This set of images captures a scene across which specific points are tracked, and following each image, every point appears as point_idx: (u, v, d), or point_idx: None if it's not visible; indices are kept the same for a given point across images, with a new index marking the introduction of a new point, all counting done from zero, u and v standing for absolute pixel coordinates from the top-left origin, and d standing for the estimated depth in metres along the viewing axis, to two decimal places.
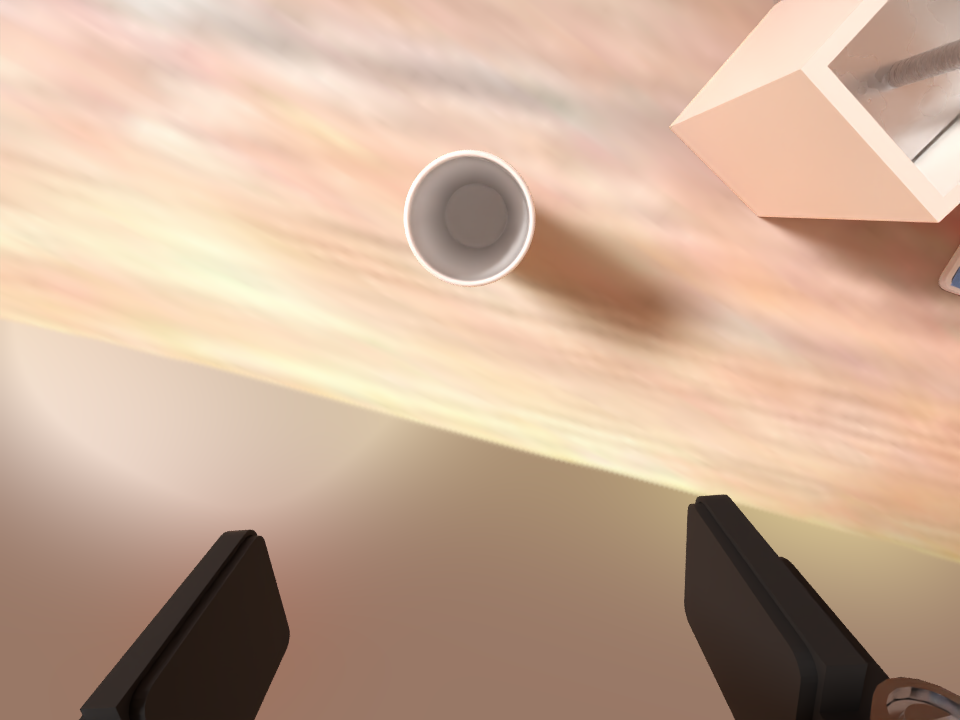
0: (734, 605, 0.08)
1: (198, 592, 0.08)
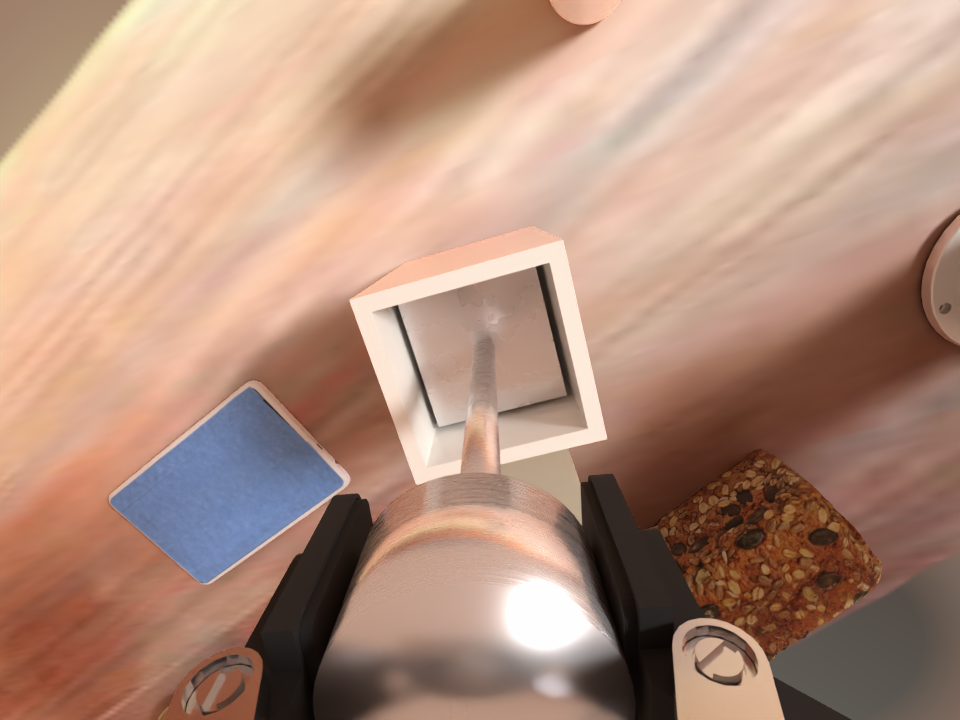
0: (600, 568, 0.09)
1: (329, 543, 0.09)
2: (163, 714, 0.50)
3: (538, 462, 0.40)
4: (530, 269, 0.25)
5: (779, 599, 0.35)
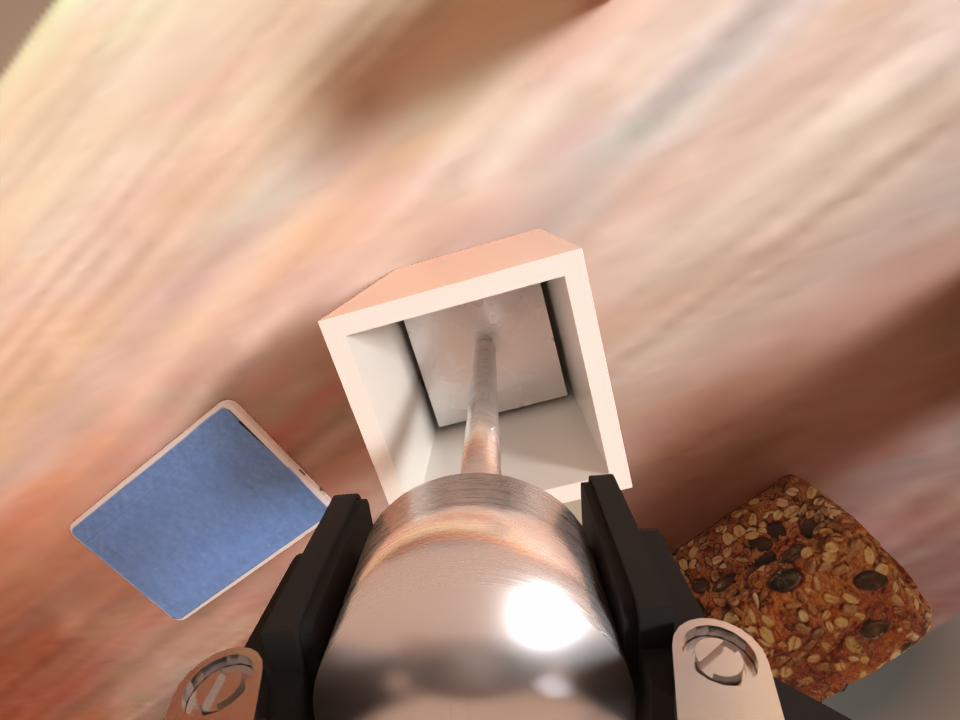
0: (600, 567, 0.09)
1: (329, 543, 0.09)
2: None
3: None
4: None
5: (818, 650, 0.31)
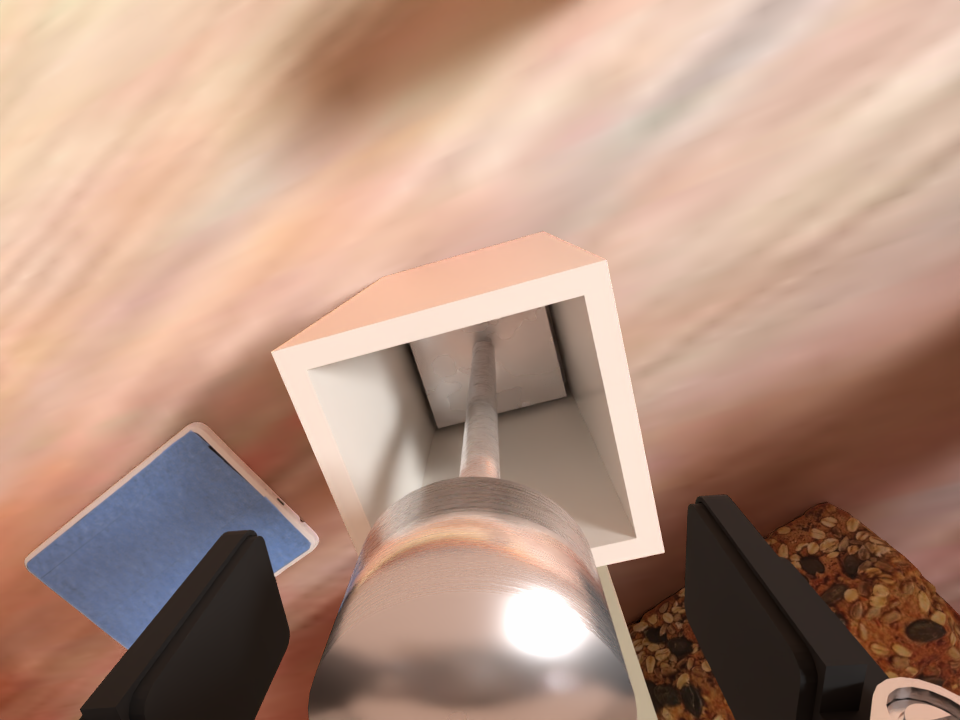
0: (734, 605, 0.08)
1: (198, 592, 0.08)
2: None
3: None
4: None
5: None
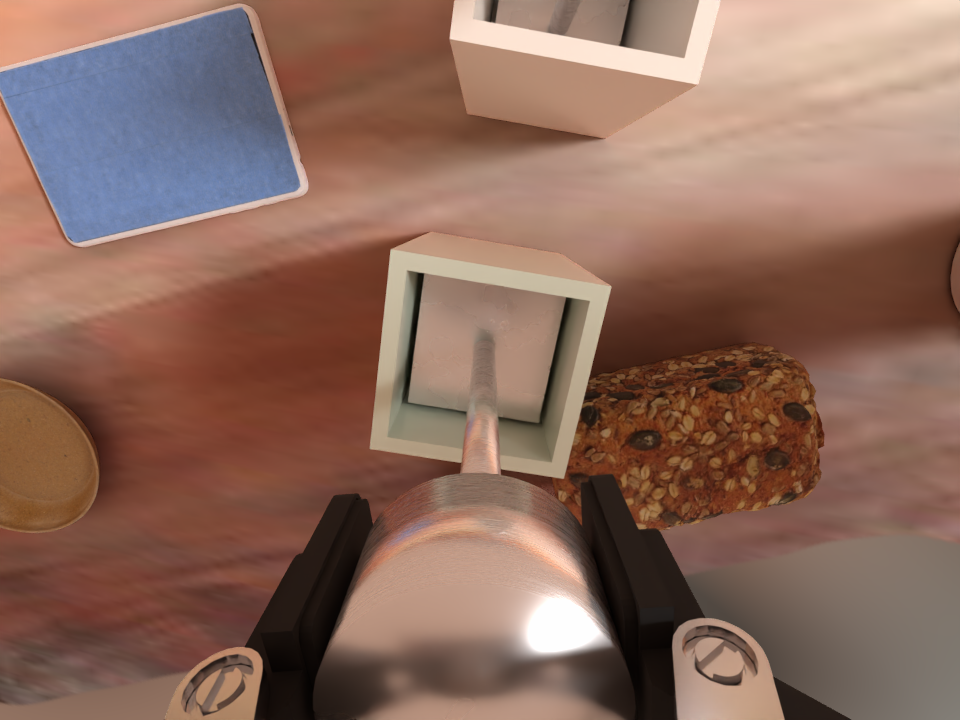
0: (600, 567, 0.09)
1: (329, 543, 0.09)
2: None
3: (528, 250, 0.35)
4: None
5: (723, 455, 0.31)
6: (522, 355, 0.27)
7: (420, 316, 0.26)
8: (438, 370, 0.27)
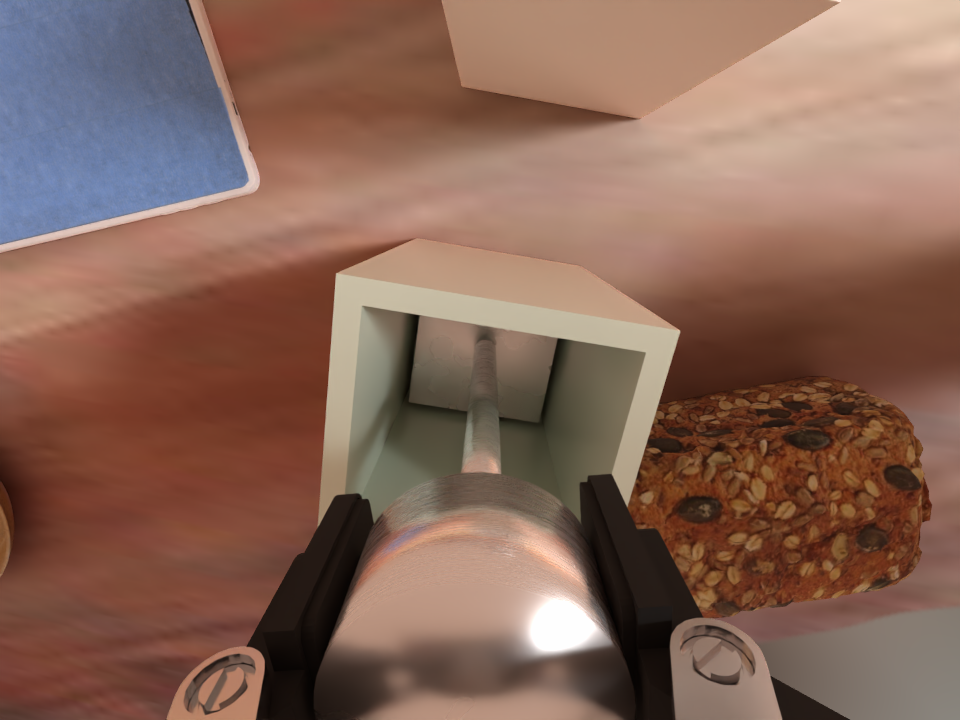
0: (599, 567, 0.09)
1: (331, 543, 0.09)
2: None
3: (540, 262, 0.27)
4: None
5: (803, 533, 0.24)
6: (523, 355, 0.27)
7: (421, 316, 0.26)
8: (439, 370, 0.27)
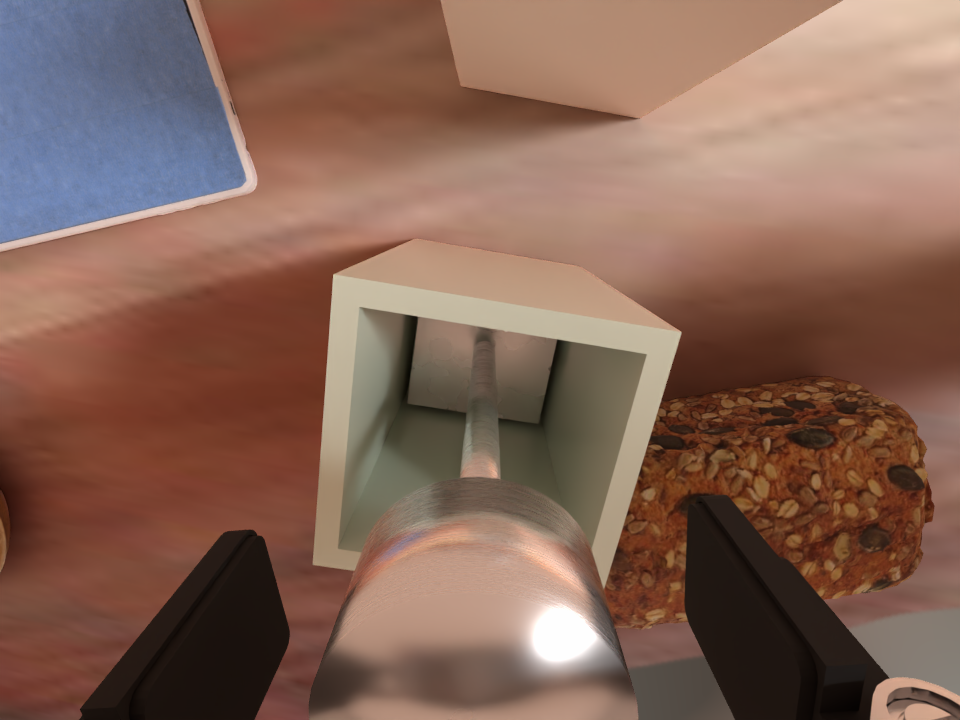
0: (734, 605, 0.08)
1: (198, 592, 0.08)
2: None
3: (539, 262, 0.27)
4: None
5: (805, 532, 0.23)
6: (522, 356, 0.26)
7: (419, 317, 0.26)
8: (438, 371, 0.27)
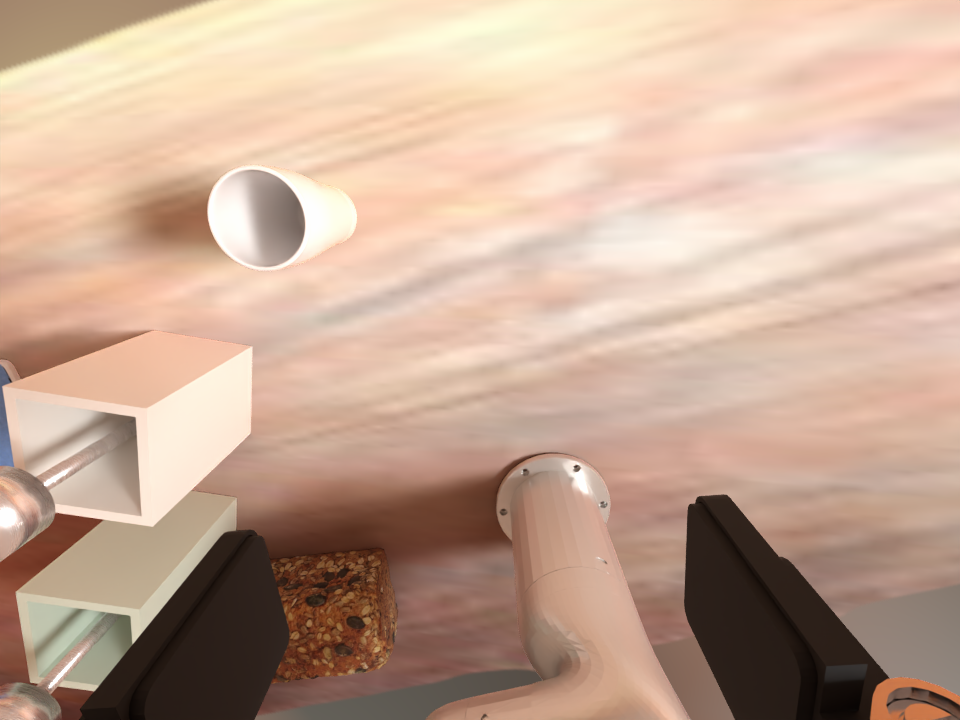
0: (734, 605, 0.08)
1: (198, 592, 0.08)
2: None
3: (202, 505, 0.53)
4: None
5: (306, 646, 0.49)
6: None
7: None
8: None
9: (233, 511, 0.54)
